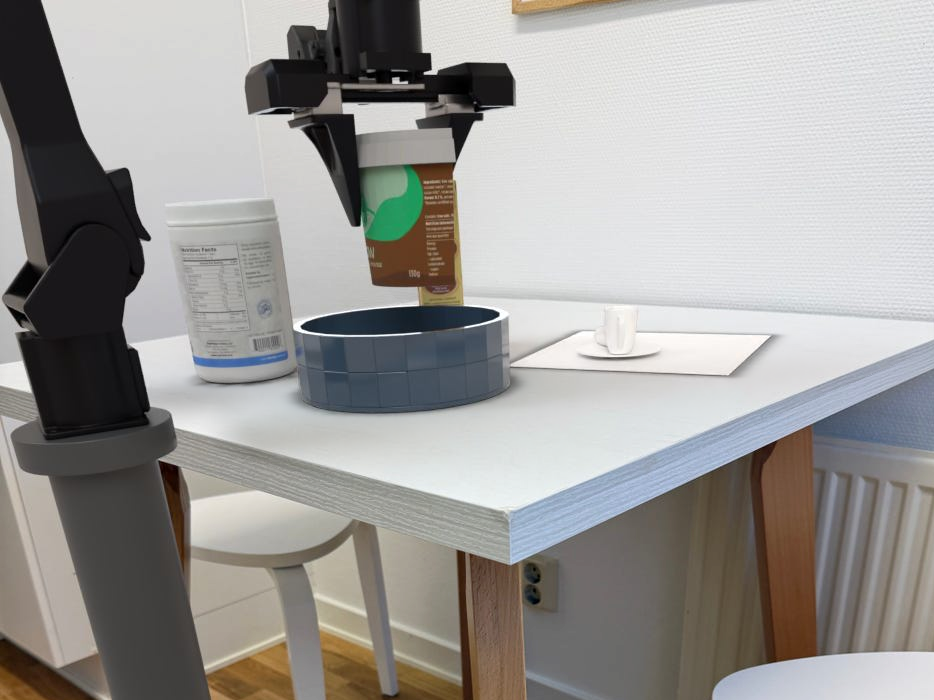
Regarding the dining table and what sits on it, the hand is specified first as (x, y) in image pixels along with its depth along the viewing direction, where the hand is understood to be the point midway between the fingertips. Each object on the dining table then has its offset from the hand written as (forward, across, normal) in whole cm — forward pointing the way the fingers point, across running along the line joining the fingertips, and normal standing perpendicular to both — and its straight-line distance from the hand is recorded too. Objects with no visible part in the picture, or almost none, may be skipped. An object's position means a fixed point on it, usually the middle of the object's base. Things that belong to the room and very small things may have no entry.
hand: (395, 224), depth 66 cm
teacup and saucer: (+12, -26, -2) cm, 29 cm away
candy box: (+13, -11, -15) cm, 22 cm away
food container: (+4, 0, 0) cm, 4 cm away
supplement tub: (+13, +8, -18) cm, 23 cm away
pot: (+12, -1, -2) cm, 13 cm away
